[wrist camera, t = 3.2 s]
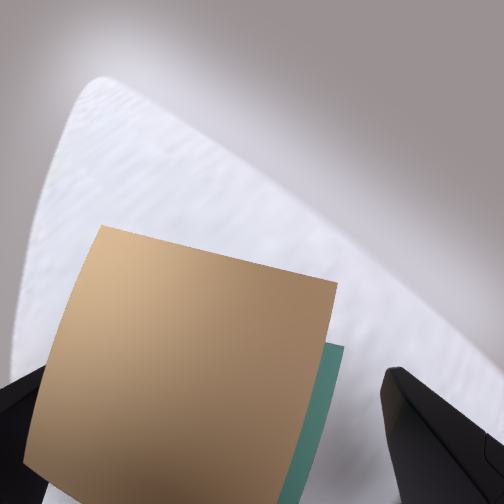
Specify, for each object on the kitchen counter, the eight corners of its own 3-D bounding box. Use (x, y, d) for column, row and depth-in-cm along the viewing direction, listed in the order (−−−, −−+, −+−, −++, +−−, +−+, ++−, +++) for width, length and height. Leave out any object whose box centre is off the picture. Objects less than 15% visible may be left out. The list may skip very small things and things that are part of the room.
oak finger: (185, 423, 15) (-10, 460, 3) (212, 335, 17) (82, 191, 5) (279, 451, 14) (294, 601, 2) (305, 359, 16) (396, 260, 4)
